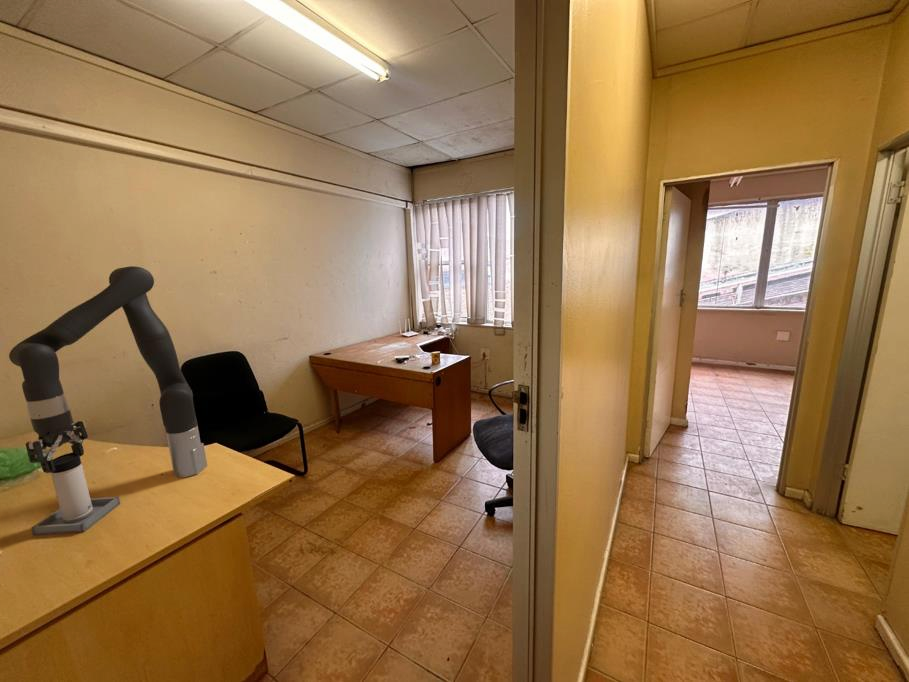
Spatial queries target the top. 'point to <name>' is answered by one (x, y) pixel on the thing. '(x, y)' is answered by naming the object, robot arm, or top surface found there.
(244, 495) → the top surface
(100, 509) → the tray
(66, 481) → the travel mug
